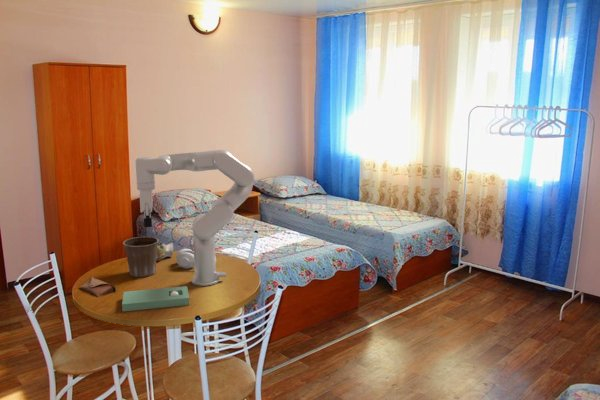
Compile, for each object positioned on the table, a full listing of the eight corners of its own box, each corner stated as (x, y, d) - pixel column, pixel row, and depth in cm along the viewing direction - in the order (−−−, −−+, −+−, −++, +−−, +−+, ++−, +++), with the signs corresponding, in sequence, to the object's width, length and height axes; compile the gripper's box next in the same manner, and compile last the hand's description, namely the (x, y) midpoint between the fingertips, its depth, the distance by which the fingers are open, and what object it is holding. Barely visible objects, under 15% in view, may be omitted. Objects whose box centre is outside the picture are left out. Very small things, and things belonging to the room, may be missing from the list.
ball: (177, 298, 222) (179, 290, 222) (177, 301, 219) (179, 293, 218) (169, 296, 221) (171, 289, 221) (169, 300, 218) (171, 292, 217)
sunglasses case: (76, 287, 233) (82, 273, 234) (89, 291, 238) (95, 277, 240) (98, 297, 222) (105, 282, 223) (112, 301, 227) (118, 286, 229)
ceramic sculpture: (177, 241, 275) (152, 249, 265) (179, 257, 277) (154, 265, 267) (166, 238, 282) (141, 245, 272) (168, 253, 284) (143, 261, 274)
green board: (187, 292, 228) (186, 286, 227) (189, 304, 214) (189, 297, 214) (124, 298, 221) (123, 291, 220) (122, 311, 208) (121, 304, 207)
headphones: (176, 271, 254) (217, 273, 260) (177, 255, 253) (219, 258, 258) (175, 259, 271) (213, 262, 277) (176, 245, 270) (215, 247, 276)
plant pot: (154, 279, 244) (152, 246, 241) (120, 279, 244) (117, 245, 241) (164, 268, 260) (162, 236, 257) (131, 267, 260) (129, 236, 257)
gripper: (137, 183, 234) (139, 223, 238) (136, 189, 220) (138, 231, 224) (154, 182, 236) (156, 222, 240) (154, 188, 222) (157, 230, 226)
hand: (148, 226), depth 232 cm, fingers closed
